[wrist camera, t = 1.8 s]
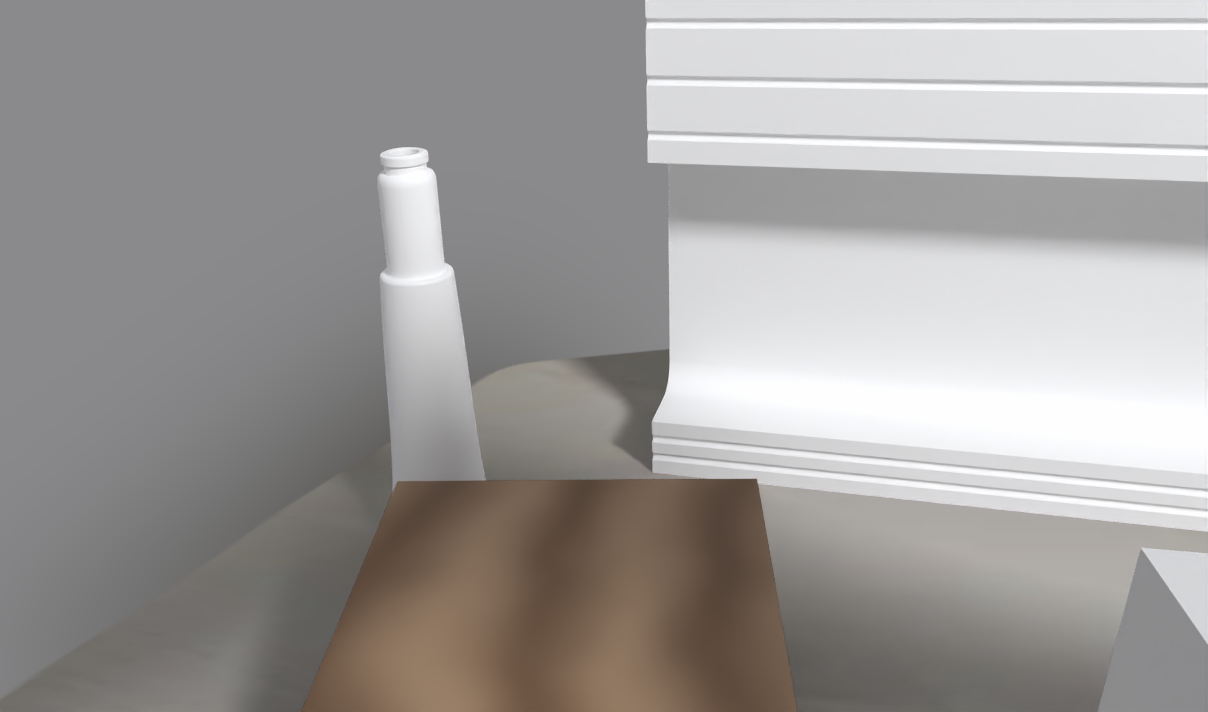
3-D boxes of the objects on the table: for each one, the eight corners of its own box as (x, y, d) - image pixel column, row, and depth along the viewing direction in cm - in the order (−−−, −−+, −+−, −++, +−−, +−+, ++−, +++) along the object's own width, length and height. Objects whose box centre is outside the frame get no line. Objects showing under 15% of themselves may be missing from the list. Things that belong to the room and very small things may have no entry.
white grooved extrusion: (1254, 467, 65) (1374, -29, 54) (1294, 541, 58) (1442, -12, 47) (678, 413, 74) (676, -23, 62) (652, 472, 67) (645, -8, 55)
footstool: (751, 643, 52) (757, 478, 48) (791, 948, 37) (803, 744, 33) (417, 643, 52) (397, 481, 49) (327, 941, 38) (288, 742, 34)
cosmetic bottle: (393, 589, 56) (337, 172, 48) (388, 527, 62) (337, 143, 53) (508, 571, 58) (475, 161, 49) (493, 512, 63) (461, 133, 54)
